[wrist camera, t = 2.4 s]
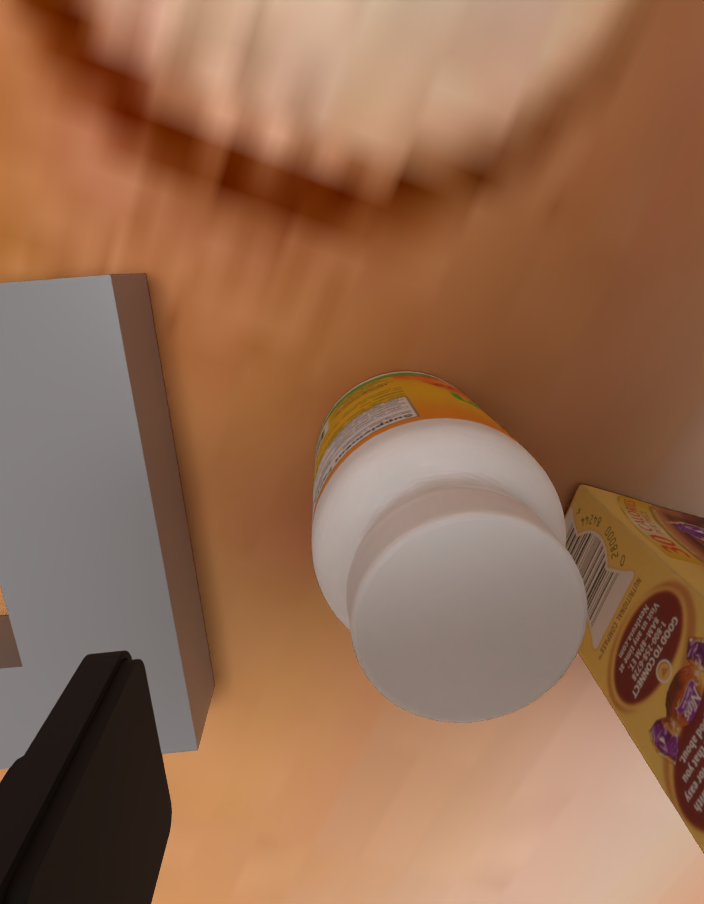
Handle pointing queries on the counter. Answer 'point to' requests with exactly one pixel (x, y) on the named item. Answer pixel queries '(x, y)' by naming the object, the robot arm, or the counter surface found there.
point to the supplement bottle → (442, 551)
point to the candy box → (647, 631)
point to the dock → (92, 508)
